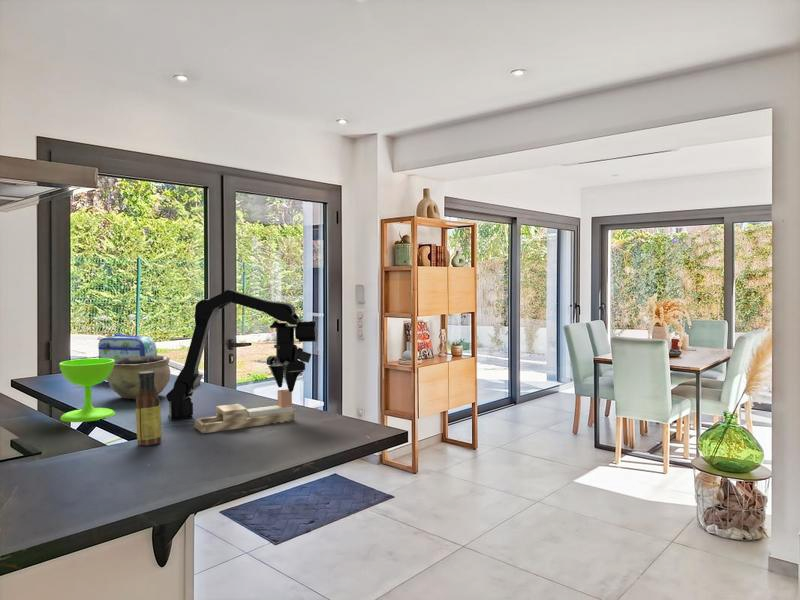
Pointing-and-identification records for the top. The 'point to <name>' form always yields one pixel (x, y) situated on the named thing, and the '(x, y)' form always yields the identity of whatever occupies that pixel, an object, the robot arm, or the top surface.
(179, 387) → the robot arm
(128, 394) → the ceramic bowl
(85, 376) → the wineglass
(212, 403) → the top surface
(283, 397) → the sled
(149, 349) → the lunch box
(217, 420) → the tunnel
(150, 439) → the sauce bottle
